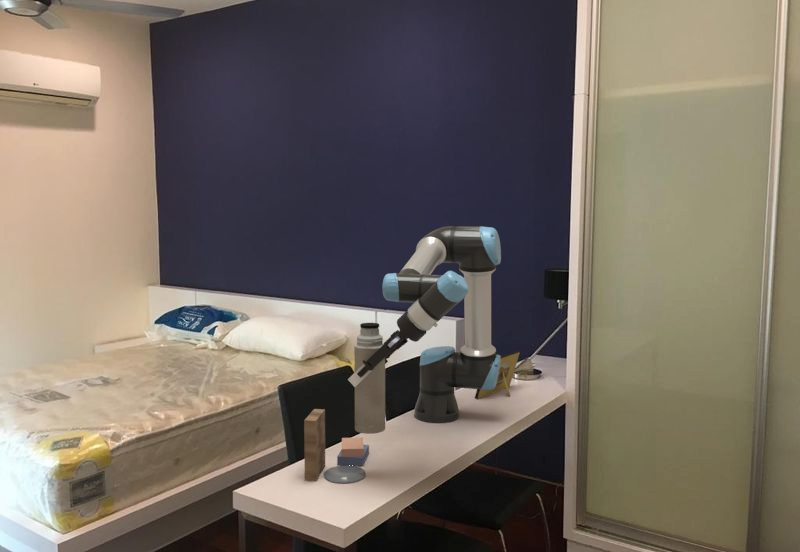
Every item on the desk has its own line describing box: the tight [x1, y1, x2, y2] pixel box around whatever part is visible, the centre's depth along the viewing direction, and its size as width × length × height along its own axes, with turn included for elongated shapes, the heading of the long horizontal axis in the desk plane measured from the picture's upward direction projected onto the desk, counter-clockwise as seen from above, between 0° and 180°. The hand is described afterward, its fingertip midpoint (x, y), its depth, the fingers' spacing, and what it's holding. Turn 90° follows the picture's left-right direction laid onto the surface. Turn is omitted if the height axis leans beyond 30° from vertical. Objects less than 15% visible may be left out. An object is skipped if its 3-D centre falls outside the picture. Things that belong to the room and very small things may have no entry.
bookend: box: [303, 408, 326, 482], centre depth 181 cm, size 10×3×16 cm, turn 172°
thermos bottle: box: [353, 322, 386, 435], centre depth 178 cm, size 8×8×28 cm
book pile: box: [336, 437, 370, 467], centre depth 192 cm, size 10×8×5 cm
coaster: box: [323, 465, 367, 485], centre depth 181 cm, size 11×11×1 cm
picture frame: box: [474, 350, 521, 400], centre depth 257 cm, size 23×9×15 cm, turn 141°
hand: (357, 378), depth 179 cm, fingers closed on thermos bottle, 8 cm apart
